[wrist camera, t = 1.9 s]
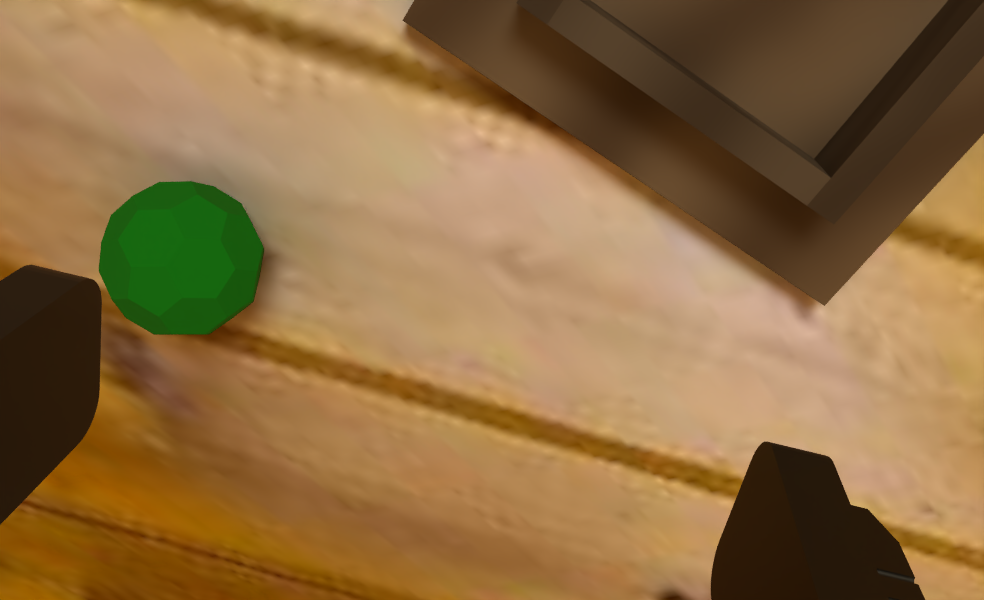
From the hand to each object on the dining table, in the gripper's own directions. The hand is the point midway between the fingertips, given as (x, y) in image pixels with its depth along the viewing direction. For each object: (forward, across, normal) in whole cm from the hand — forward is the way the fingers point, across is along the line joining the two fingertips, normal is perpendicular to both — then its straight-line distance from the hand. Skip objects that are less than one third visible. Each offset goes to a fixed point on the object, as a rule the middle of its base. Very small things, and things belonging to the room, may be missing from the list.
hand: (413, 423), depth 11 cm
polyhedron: (+19, +10, +7) cm, 23 cm away
